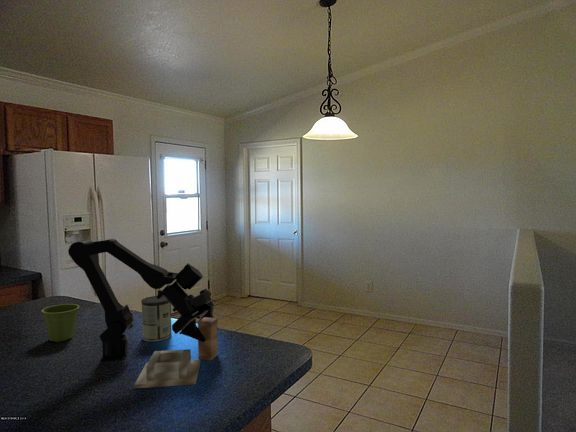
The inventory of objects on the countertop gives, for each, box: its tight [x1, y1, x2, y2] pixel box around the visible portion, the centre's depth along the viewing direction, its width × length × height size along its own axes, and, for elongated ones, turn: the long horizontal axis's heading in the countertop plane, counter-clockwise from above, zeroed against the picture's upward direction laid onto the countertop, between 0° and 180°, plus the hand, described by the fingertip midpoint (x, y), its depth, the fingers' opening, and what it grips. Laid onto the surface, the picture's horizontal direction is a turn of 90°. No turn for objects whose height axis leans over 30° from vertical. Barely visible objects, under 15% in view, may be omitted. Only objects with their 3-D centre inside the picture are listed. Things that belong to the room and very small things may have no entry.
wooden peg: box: [197, 317, 219, 361], centre depth 120 cm, size 4×4×12 cm
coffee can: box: [140, 295, 172, 343], centre depth 138 cm, size 10×10×14 cm
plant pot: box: [41, 303, 81, 343], centre depth 136 cm, size 12×12×11 cm
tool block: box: [133, 348, 202, 389], centre depth 108 cm, size 16×14×5 cm
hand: (211, 335), depth 120 cm, fingers open, 9 cm apart
